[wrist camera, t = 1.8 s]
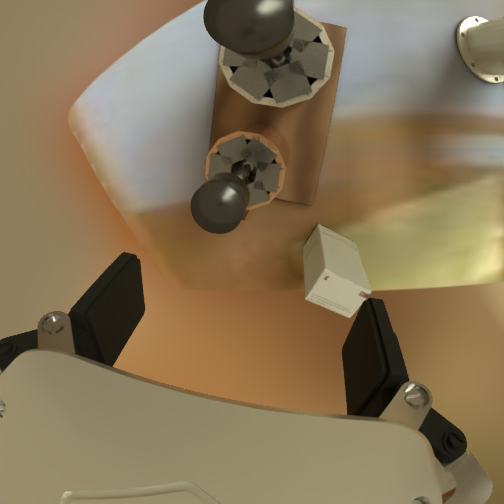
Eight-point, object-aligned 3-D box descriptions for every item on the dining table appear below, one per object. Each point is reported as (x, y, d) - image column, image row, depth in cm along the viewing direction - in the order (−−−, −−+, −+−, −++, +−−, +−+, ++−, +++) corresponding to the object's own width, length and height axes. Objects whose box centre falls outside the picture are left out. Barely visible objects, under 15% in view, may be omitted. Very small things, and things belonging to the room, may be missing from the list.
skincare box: (302, 247, 53) (299, 299, 40) (318, 220, 50) (322, 267, 37) (340, 267, 54) (348, 321, 41) (358, 242, 50) (373, 293, 38)
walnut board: (345, 29, 33) (346, 27, 32) (312, 203, 48) (312, 205, 47) (229, 13, 34) (227, 11, 33) (208, 183, 50) (206, 185, 49)
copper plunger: (277, 146, 35) (260, 178, 22) (269, 193, 38) (249, 250, 25) (227, 138, 35) (181, 166, 22) (221, 185, 39) (178, 236, 26)
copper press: (294, 129, 42) (291, 140, 31) (281, 199, 48) (273, 233, 37) (232, 119, 42) (207, 127, 32) (224, 189, 49) (200, 219, 38)
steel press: (329, 30, 33) (342, -4, 19) (316, 109, 40) (323, 116, 25) (255, 19, 34) (230, -17, 19) (243, 97, 40) (212, 98, 26)
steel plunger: (318, 33, 24) (335, -36, 8) (308, 96, 28) (315, 93, 12) (248, 24, 25) (186, -43, 9) (239, 85, 29) (165, 77, 13)
